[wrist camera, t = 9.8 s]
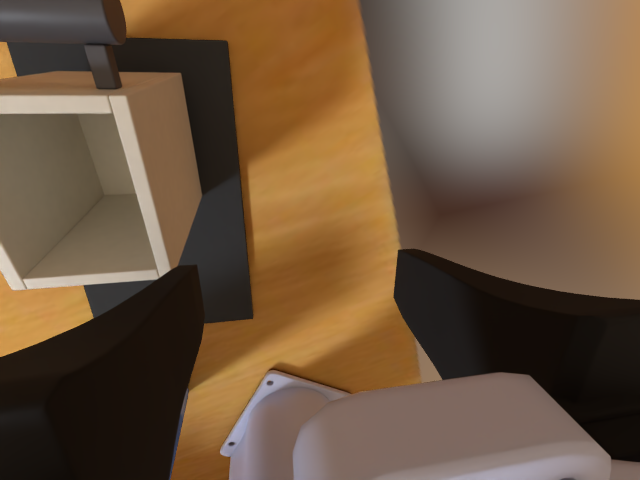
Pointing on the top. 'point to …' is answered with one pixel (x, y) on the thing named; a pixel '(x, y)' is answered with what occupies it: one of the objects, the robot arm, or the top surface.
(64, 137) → the white case
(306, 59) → the top surface
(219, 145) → the mat
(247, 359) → the top surface
